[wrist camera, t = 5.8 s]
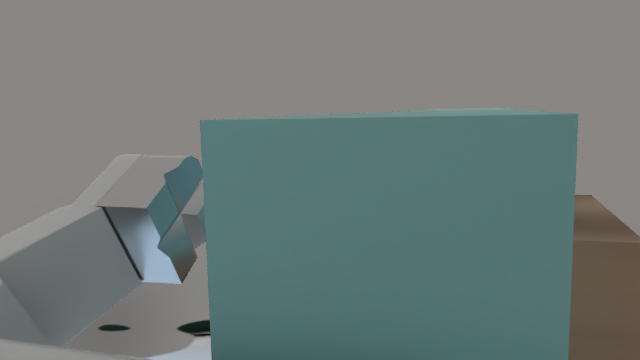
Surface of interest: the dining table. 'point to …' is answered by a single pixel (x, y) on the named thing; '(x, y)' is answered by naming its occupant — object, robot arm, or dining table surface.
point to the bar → (390, 235)
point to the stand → (603, 285)
